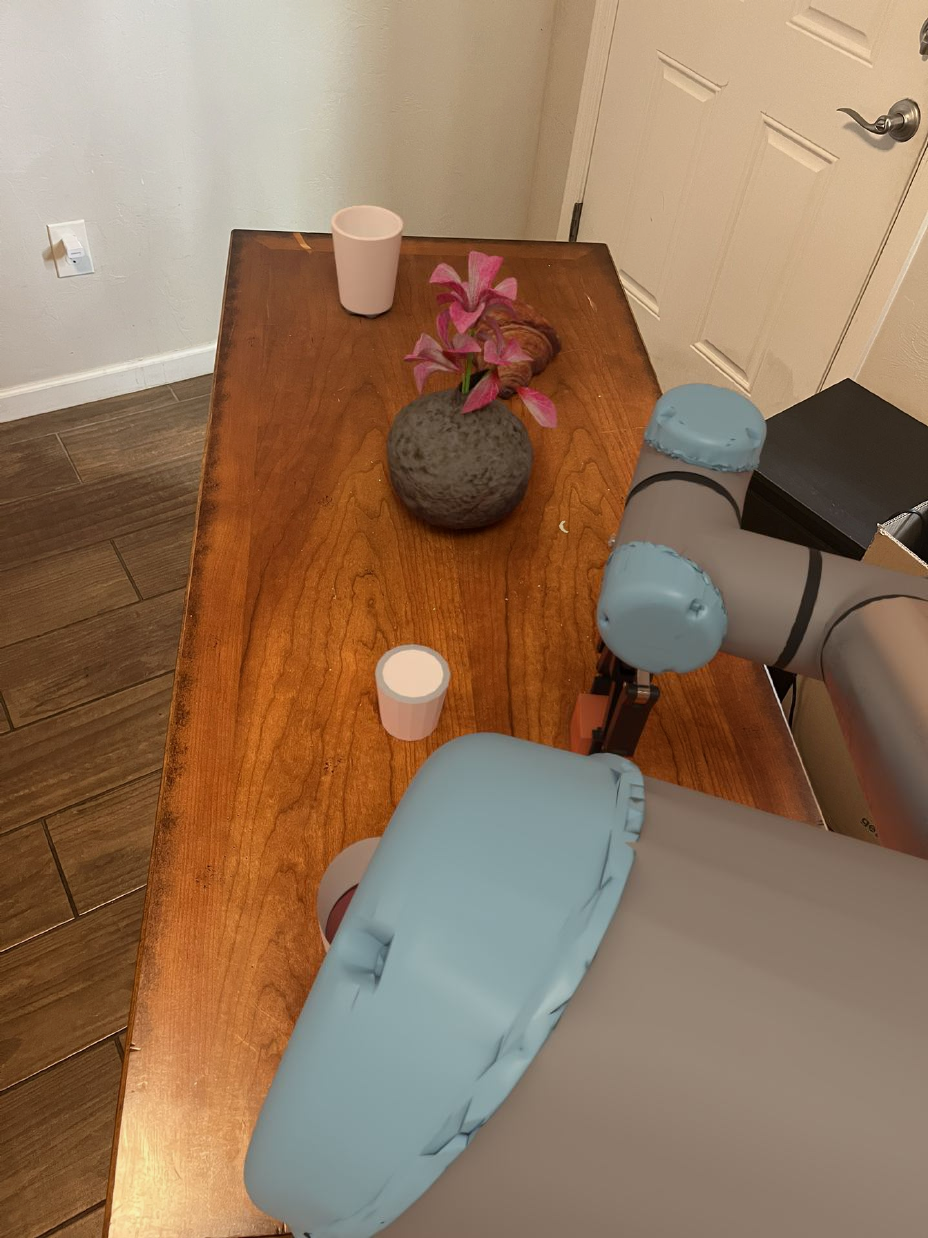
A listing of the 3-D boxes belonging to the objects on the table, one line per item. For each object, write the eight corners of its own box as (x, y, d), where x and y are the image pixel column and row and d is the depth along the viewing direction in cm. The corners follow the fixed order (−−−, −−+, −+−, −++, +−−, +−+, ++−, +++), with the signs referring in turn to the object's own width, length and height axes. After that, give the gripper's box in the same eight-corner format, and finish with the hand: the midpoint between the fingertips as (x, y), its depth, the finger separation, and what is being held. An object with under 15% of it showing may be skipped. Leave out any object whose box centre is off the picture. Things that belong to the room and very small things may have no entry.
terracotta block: (624, 772, 87) (636, 742, 84) (571, 767, 87) (580, 737, 84) (621, 728, 91) (632, 697, 87) (569, 723, 91) (579, 692, 87)
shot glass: (429, 756, 88) (433, 713, 83) (362, 731, 89) (362, 687, 84) (455, 702, 92) (461, 657, 87) (391, 679, 94) (393, 633, 88)
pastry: (428, 340, 133) (431, 288, 127) (513, 312, 140) (519, 262, 134) (501, 403, 125) (508, 351, 119) (587, 370, 132) (598, 319, 126)
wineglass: (329, 1079, 69) (321, 981, 54) (322, 962, 75) (313, 843, 60) (436, 1064, 70) (457, 964, 55) (421, 950, 76) (437, 830, 61)
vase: (369, 469, 114) (372, 230, 91) (504, 449, 119) (538, 218, 96) (407, 566, 104) (420, 325, 81) (553, 541, 108) (604, 306, 86)
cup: (414, 309, 138) (418, 225, 129) (364, 332, 133) (365, 246, 124) (368, 280, 142) (369, 197, 133) (318, 302, 137) (315, 217, 128)
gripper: (602, 492, 77) (556, 668, 95) (614, 661, 65) (559, 827, 83) (692, 501, 78) (630, 675, 95) (720, 672, 66) (643, 835, 83)
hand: (597, 745), depth 89 cm, fingers closed on terracotta block, 5 cm apart
